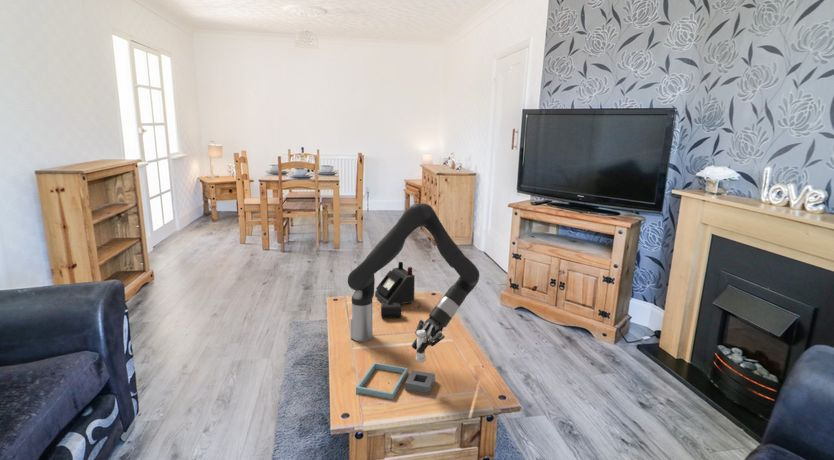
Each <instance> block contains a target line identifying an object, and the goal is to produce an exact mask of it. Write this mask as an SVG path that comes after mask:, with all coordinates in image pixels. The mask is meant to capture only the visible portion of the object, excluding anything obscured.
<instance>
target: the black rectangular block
mask: <svg viewBox="0 0 834 460" xmlns="http://www.w3.org/2000/svg"><path fill="white" fill-rule="evenodd" d="M401 316H402V304H399V303H393V305H388V304H387V303H382V302H381V305H380V318H382V319H390V318H393V319H394V318H400V317H401Z"/></svg>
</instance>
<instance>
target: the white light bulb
mask: <svg viewBox="0 0 834 460" xmlns="http://www.w3.org/2000/svg"><path fill="white" fill-rule="evenodd" d="M415 332H416V334H415V336H416V338H417V349H418V348H419V347H420V345H421V344H422V342H424V340H425V338H426V337H425V336H426V331H425V330H417V331H416V330H415ZM417 349H416V354H415V362H418V363H424V362H425V361H426V357H427V356H426V349H425V350H424V352H423V353H421V354H420V353H419V352H418V351H417Z"/></svg>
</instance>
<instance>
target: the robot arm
mask: <svg viewBox="0 0 834 460" xmlns="http://www.w3.org/2000/svg"><path fill="white" fill-rule="evenodd" d="M420 227H421V228H422V227H424V229H426V230H427V231H428V232H429V234H430V235H431V236H432V237H433V240H434V242H435V246H436V248H437V249H438V250H437V251H438V252H439V254H440V255H441V257H442V258H443V260H444V261H445V262H446V263H447V264H448V265H449V266H450V268H452V269H454V270H455V272H456V273H457V274H458V275H459V277H458V278H457V280H456V281H455V283H454V284H452V285H451V286H450V287H449V288H448V290H447V291H446V292H445V293H444V295H443V296H442V297H441V298H440V300H438V301H437V303H436V304H435V305H434V308H433V309H432V310H431V311H430V313H429V315H428V316H429V317H428V318H427V319H426V320H422V319H419V321H418V324H417V327H416V330H415V332H414V334H415V335H416V331H417V330H425V331H426V336H425V340H424V342H422V344H421V345H420V347H419V348H418V349H417V337H416V338H415V340H414V341H413V342H412V344H411V348H412V349H414V350H416V352H417V351H418V352H419V353H420V354H421V353H423V352H424V350H425V351H426V350H427V348H428V346H430V347H434V346H435V345H437V344H438V343H439V342H441V341H442V340H443V339H445V338H446V337H445V335H444V334H443V332H442V331H443V329H444V328H446V327H447V326H448V325H449V324H450V321H452V319H453V318H454V317H455V315H456V314H457V312H458V310H459V308H460V307H461V305H462V304H463V302H464V301H465V299H466V298H467V296H468V295H469V294H471V292H472V290H473V289H474V288H475V287H476V286H477V284H478V282H479V280H480V271H479V269H478V268H477V266H476V265H475V264H474V263H473V262H472V261H471V260H470V259H469V258H468V257H466V255H465V254H464V252H462V250H461V249H460V248H459V246H458V245H457V243H456V242H454V240H453V238H451V236H450V235H449V233H448V231H447V230H446V229H445V227H444V226H443V223H442V222H441V220H440V219H439V217H438V215H437V214H436V211H435V210H434V209H433V207H432V206H431V205H429V204H427V203H415V204H411V205H410V206H409V207H407V209H406V210H405V211H404V213H403V214H402V215H401V217H400V218H399V219H398V221H397V222H396V224H395V225H393V226H392V228H391V229H390V230H389V231H388V232H387V233H386V234H385V236H383V237H382V238H381V240H380V241H379V242H378V243H377V244H376V245H375V247H374V248H373V249H372V250H371V251H370V253H369V254H368V255H367V256H366V257H365V259H364V260H363V261H362V262H361V263H360V264H358V265H357V267H355V268H354V269H353V270H351V272H350V273H349V274H348V277H347V284H348V287H349V288H350V289H351V290H353V291H354V292H353V294H352V296H351V318H350V321H349V322H350V323H349V324H350V325H349V326H350V327H349V328H350V339H353V340H354V341H356V342H361V343H362V342H363V343H364V342H367V341H368V342H369V341H371V340H372V339H373V334H374V333H373V320H374V319H373V298H374V297H375V284H376V283H375V280H376V279H375V274H376V273H377V272H378V271H379V272H380V270H381V269H383V268H384V267H386V266H387V265H389V264H390V263H391V262H392V261H393V260H394V259H395V258H396V257H397V256H398V255H399V254H400V252H401V251H402V250H403V248H404V245H405V242H406V240H407V238H408V236H410V235H411V234H412V233H413V232H414V231H415V230H417V229H418V228H420Z"/></svg>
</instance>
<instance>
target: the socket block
mask: <svg viewBox="0 0 834 460" xmlns="http://www.w3.org/2000/svg"><path fill="white" fill-rule="evenodd" d="M435 382H436V373H431V372H425V371H419V370H413V369H412V370H411V372H410V374H409V375H408V377H407V378H406V381H405V383H404V391H406V392H411V393H416V394H417V393H418V394H422V395H427V396H428V395H430V393H431V390H432V388H433V387H434V385H435Z"/></svg>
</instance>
